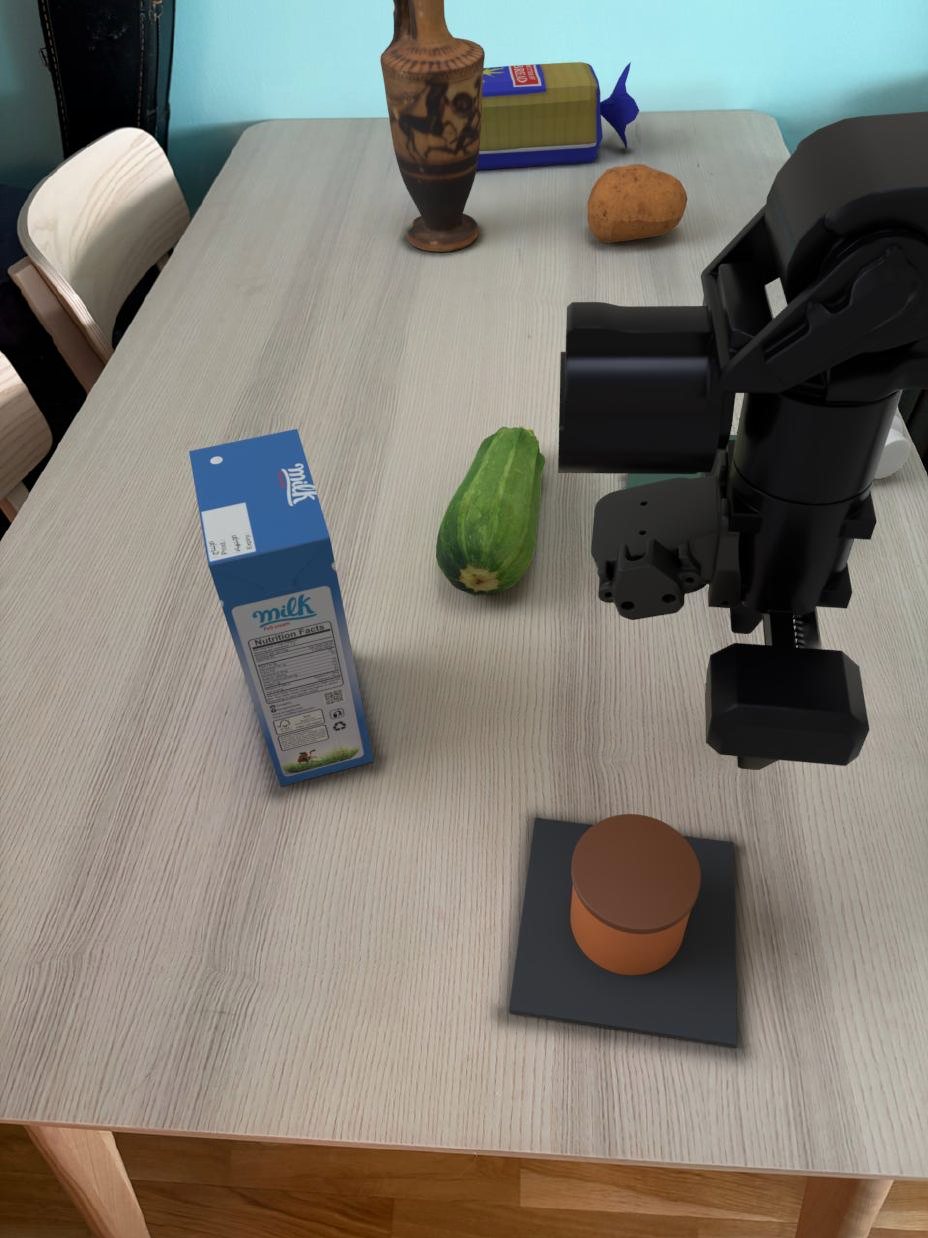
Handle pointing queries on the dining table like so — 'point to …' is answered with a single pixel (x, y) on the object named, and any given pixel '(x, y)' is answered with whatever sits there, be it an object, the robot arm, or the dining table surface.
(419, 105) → the vase
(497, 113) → the bread
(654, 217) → the potato
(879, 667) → the dining table surface
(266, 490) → the milk carton
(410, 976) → the dining table surface
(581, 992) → the mat
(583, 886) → the round tub
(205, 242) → the dining table surface
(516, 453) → the vegetable
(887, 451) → the supplement bottle
